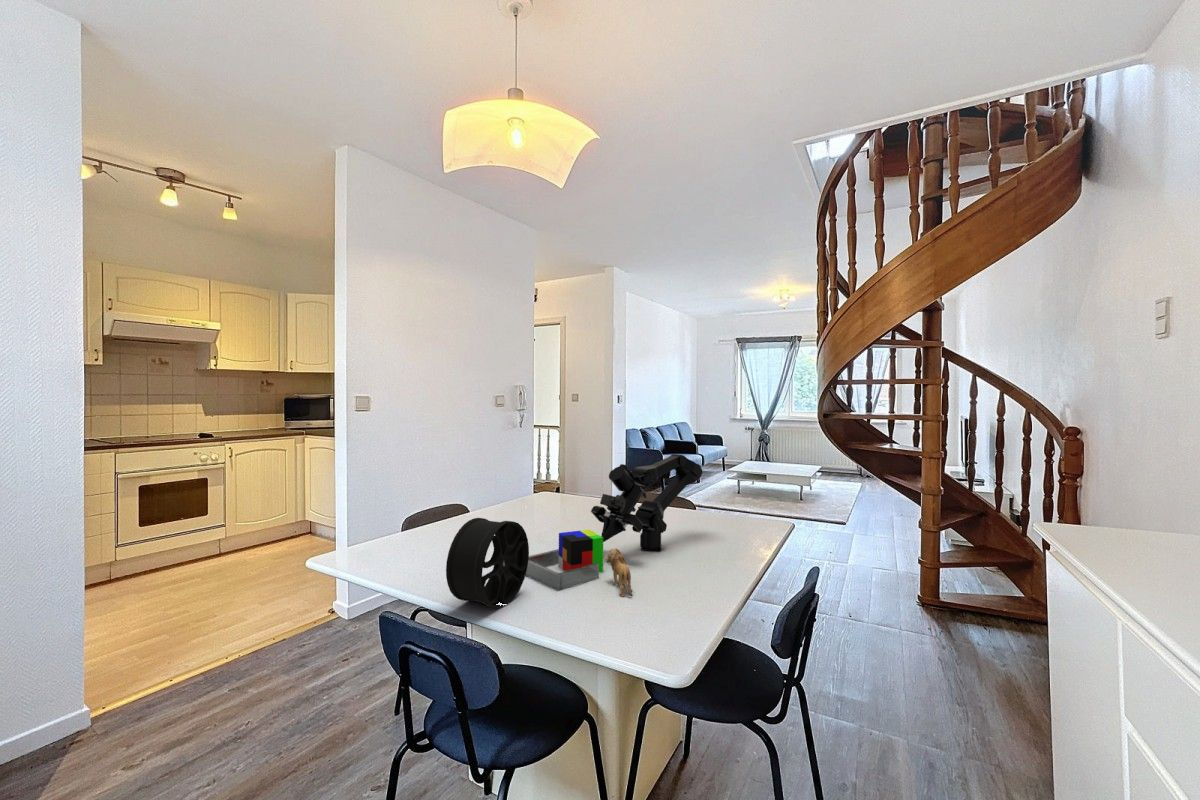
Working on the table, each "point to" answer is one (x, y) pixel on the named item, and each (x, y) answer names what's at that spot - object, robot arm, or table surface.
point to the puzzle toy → (580, 549)
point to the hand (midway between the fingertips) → (602, 541)
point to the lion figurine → (619, 570)
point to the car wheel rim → (470, 561)
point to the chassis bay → (556, 579)
